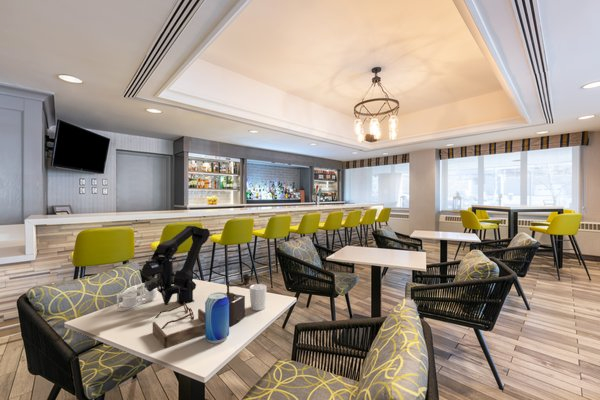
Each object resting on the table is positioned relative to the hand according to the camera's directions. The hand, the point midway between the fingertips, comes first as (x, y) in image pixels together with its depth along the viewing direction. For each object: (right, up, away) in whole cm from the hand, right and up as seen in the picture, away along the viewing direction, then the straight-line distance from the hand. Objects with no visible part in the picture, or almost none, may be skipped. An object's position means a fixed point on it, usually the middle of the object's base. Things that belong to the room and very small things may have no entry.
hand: (166, 304), depth 125 cm
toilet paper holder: (-19, -3, +9) cm, 21 cm away
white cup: (+42, -3, +4) cm, 42 cm away
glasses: (+8, -4, -8) cm, 12 cm away
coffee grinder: (+32, -3, -7) cm, 33 cm away
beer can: (+31, -3, -24) cm, 40 cm away
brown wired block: (+17, -3, -19) cm, 26 cm away
